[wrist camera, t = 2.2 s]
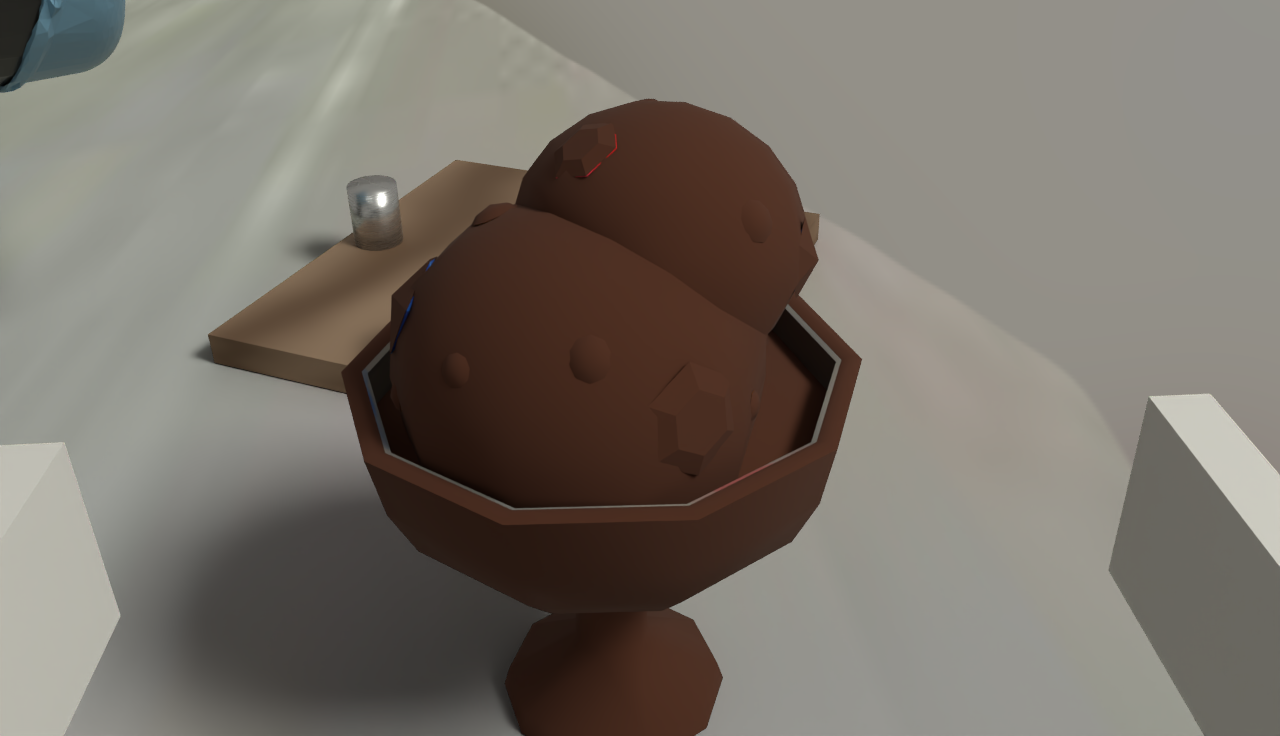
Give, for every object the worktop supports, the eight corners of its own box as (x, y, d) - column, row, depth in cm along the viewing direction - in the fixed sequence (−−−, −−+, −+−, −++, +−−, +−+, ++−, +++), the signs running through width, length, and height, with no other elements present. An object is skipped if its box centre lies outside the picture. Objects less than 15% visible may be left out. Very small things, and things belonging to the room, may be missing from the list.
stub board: (214, 362, 44) (193, 273, 42) (458, 182, 58) (450, 109, 56) (668, 467, 38) (668, 368, 36) (817, 239, 52) (823, 159, 50)
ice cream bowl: (567, 498, 37) (539, 9, 29) (903, 643, 32) (979, 88, 24) (305, 719, 30) (172, 143, 22) (684, 958, 24) (689, 304, 16)
